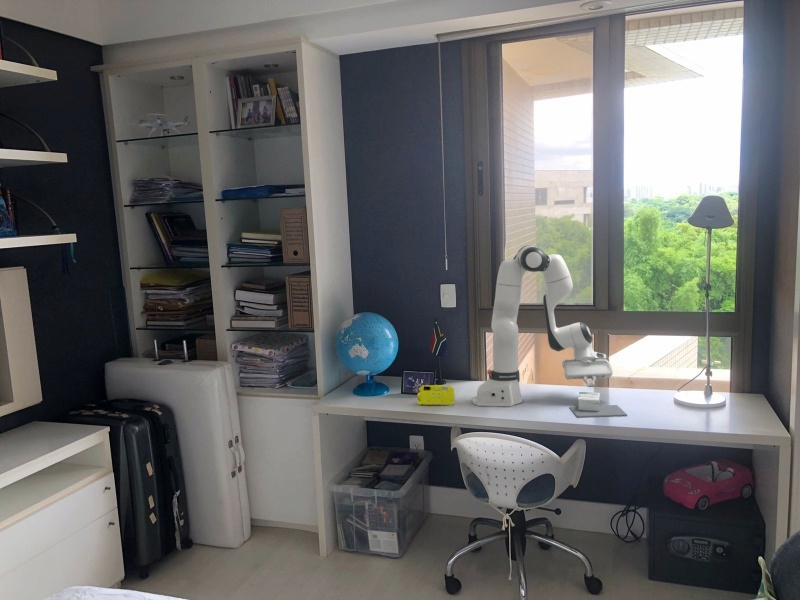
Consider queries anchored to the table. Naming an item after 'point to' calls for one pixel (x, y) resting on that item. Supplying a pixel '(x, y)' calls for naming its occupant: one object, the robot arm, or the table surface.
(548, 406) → the table surface
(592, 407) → the ink box
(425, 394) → the yellow camera
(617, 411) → the mat
